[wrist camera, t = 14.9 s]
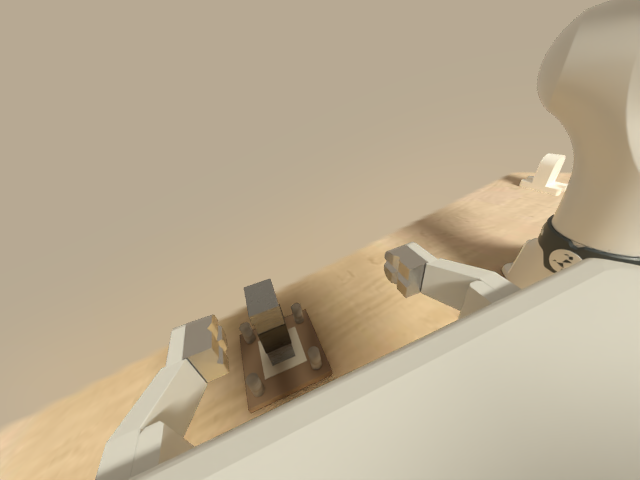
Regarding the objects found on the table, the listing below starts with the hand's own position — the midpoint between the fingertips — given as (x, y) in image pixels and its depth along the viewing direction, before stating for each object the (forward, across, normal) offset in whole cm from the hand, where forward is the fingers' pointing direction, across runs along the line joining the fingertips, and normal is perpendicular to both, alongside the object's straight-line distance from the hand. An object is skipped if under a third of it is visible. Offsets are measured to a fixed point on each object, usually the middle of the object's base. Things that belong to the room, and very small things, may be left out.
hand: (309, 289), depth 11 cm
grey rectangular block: (+15, +3, +27) cm, 31 cm away
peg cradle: (+15, +3, +28) cm, 32 cm away
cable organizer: (+32, -82, +28) cm, 93 cm away
